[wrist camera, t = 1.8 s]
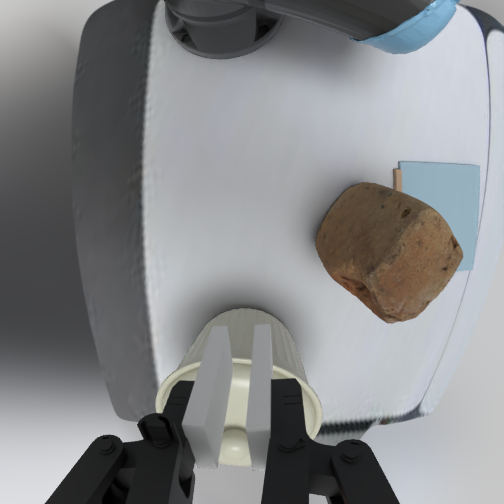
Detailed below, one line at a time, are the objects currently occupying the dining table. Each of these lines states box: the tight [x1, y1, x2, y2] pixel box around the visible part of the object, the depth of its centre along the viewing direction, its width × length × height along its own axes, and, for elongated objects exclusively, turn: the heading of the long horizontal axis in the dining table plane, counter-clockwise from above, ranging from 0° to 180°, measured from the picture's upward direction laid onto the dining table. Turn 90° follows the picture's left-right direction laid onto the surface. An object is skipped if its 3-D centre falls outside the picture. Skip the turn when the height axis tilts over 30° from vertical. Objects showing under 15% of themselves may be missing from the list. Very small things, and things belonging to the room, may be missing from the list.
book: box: [393, 162, 480, 272], centre depth 38 cm, size 16×15×1 cm
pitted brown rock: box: [315, 182, 463, 324], centre depth 30 cm, size 11×8×20 cm
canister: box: [156, 308, 322, 466], centre depth 36 cm, size 18×18×21 cm
